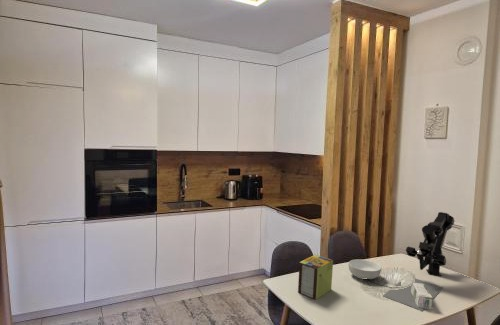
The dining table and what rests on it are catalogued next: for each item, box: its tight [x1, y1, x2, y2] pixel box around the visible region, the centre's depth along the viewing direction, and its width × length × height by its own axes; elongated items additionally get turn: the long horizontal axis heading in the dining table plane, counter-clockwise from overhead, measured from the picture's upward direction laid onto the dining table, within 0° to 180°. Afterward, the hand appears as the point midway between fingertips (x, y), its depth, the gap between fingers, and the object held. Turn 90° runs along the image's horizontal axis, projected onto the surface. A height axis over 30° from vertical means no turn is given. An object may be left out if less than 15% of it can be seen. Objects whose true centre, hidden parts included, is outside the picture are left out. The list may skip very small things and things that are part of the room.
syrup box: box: [411, 282, 433, 310], centre depth 154 cm, size 6×6×14 cm
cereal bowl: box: [348, 258, 382, 281], centre depth 179 cm, size 17×17×7 cm
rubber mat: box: [382, 278, 444, 312], centre depth 164 cm, size 34×18×1 cm, turn 136°
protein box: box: [297, 254, 334, 301], centre depth 160 cm, size 10×15×16 cm
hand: (421, 269), depth 169 cm, fingers closed
